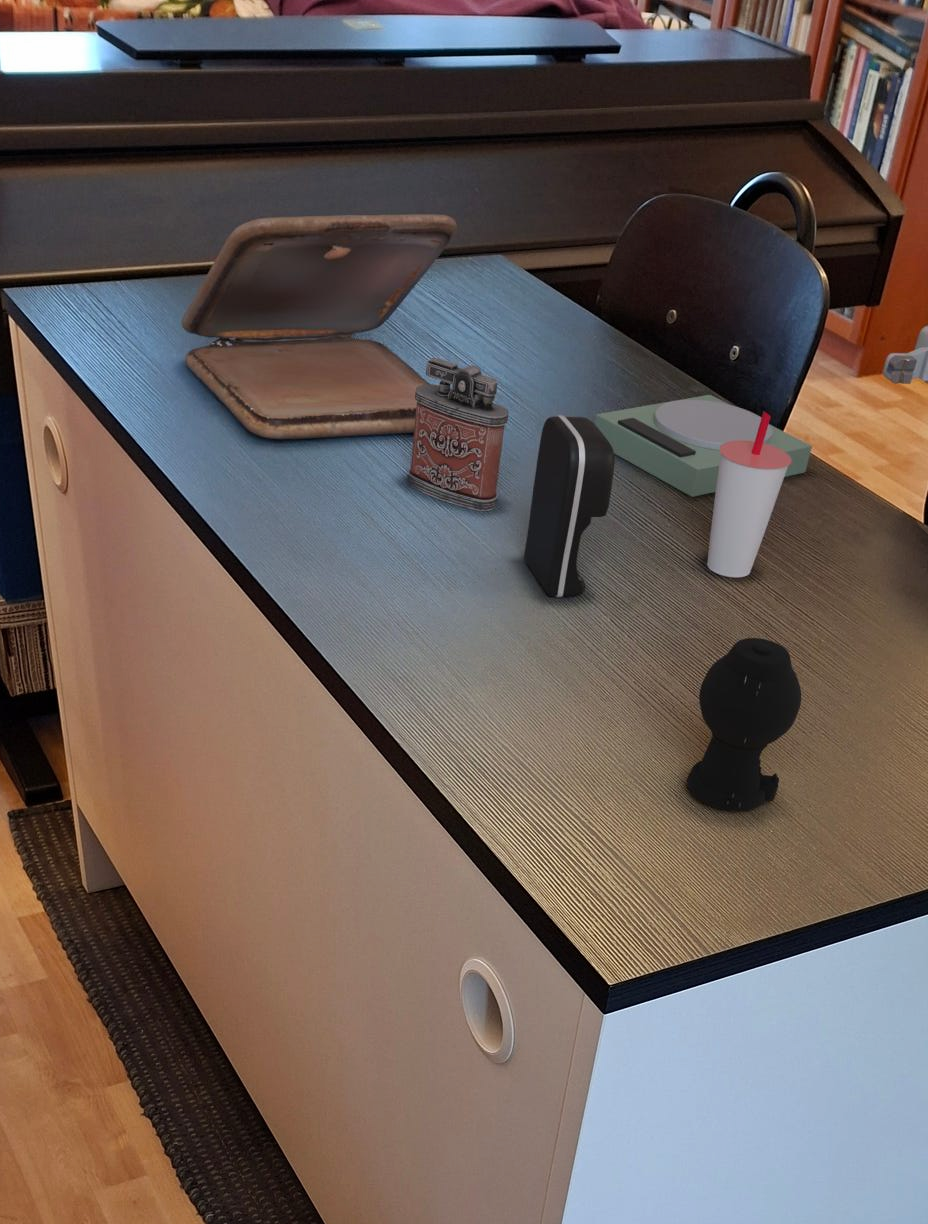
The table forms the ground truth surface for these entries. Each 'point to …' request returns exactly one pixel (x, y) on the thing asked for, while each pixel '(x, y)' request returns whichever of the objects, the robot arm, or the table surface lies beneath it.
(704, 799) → the gumball machine
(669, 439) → the kitchen scale
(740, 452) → the cup
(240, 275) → the case
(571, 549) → the battery charger
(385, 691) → the table surface
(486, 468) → the lighter
